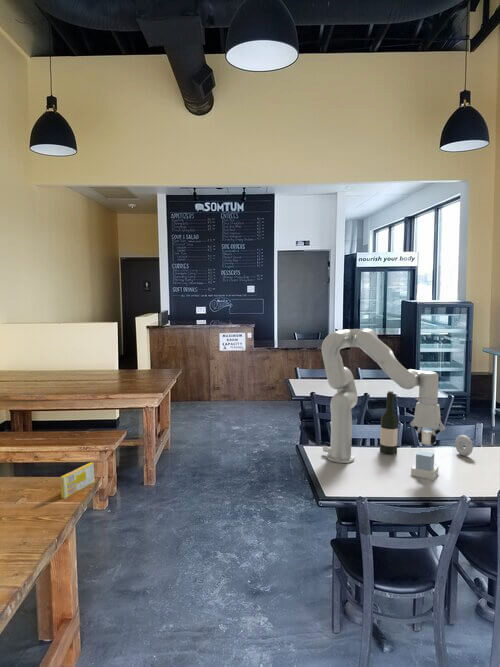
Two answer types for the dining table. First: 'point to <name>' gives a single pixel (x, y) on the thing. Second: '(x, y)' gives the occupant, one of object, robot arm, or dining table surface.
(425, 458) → the slate cube
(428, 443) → the cream cap
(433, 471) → the plinth
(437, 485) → the dining table surface
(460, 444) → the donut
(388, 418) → the wine bottle
